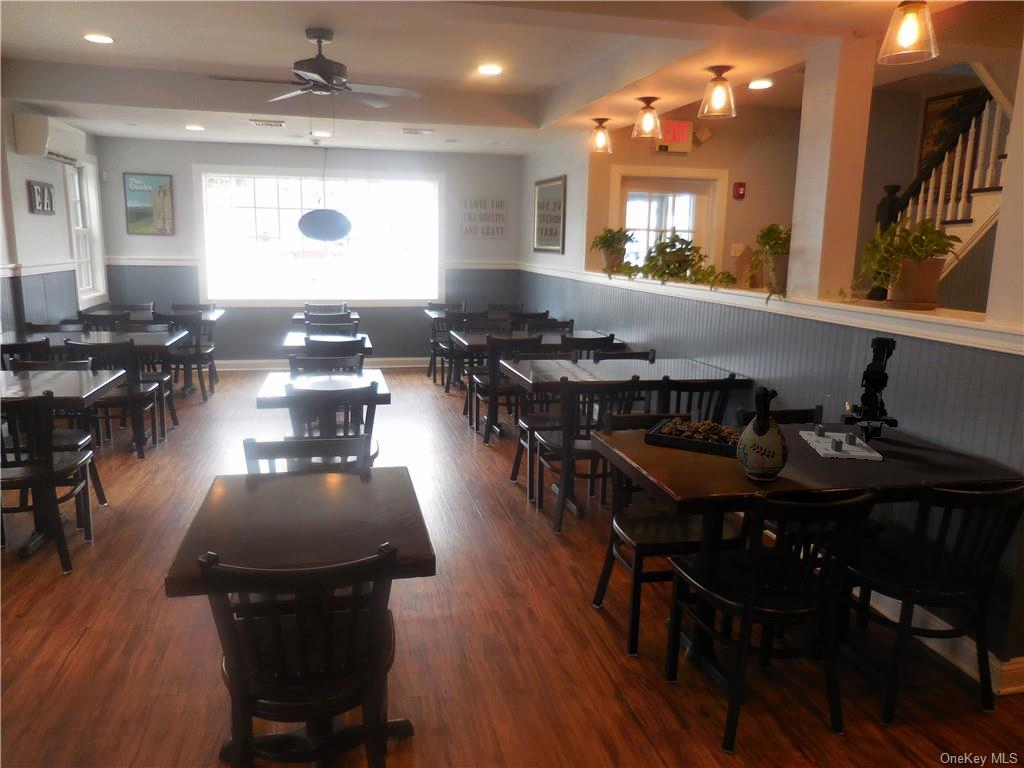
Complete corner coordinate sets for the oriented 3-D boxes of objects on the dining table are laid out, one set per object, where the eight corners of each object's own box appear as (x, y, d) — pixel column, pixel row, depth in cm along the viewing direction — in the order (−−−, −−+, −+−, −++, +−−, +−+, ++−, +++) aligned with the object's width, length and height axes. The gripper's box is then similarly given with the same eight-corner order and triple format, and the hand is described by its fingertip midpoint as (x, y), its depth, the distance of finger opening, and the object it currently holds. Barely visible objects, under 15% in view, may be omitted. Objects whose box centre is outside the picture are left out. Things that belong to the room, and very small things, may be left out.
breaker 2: (838, 448, 259) (839, 438, 258) (841, 451, 255) (843, 441, 254) (830, 447, 259) (832, 438, 259) (834, 450, 255) (835, 441, 255)
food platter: (780, 447, 267) (783, 420, 264) (771, 464, 245) (774, 435, 243) (662, 429, 286) (663, 404, 284) (644, 444, 265) (645, 417, 263)
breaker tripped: (851, 441, 268) (853, 432, 267) (855, 444, 264) (856, 435, 263) (844, 441, 268) (846, 432, 267) (848, 444, 264) (849, 434, 264)
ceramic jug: (745, 466, 240) (753, 378, 234) (791, 476, 231) (802, 385, 225) (724, 478, 227) (733, 386, 221) (773, 489, 218) (783, 393, 212)
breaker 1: (821, 433, 279) (822, 424, 278) (824, 436, 275) (825, 427, 274) (814, 433, 279) (815, 424, 278) (817, 435, 275) (818, 426, 274)
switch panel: (852, 437, 280) (852, 433, 280) (881, 460, 251) (882, 456, 251) (799, 434, 283) (799, 430, 282) (822, 456, 253) (823, 452, 253)
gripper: (889, 398, 269) (883, 438, 272) (837, 396, 271) (832, 435, 274) (901, 405, 258) (895, 447, 261) (847, 402, 260) (842, 443, 263)
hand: (865, 443), depth 265 cm, fingers closed
